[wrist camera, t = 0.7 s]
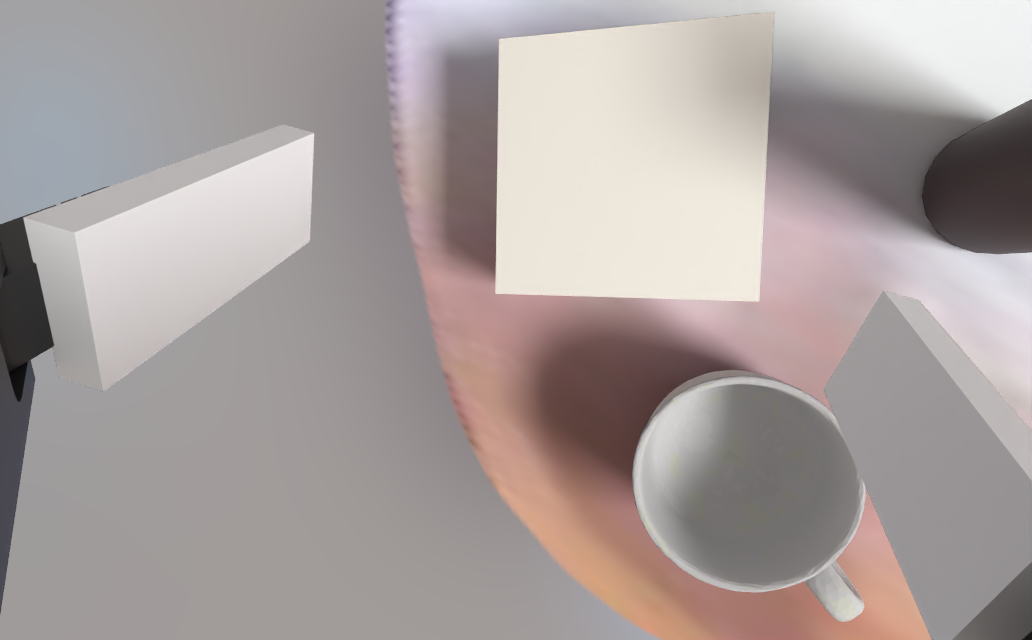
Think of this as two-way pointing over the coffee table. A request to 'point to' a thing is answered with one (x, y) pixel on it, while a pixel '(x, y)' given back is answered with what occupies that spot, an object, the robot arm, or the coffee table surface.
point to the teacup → (751, 487)
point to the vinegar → (985, 186)
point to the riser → (634, 160)
